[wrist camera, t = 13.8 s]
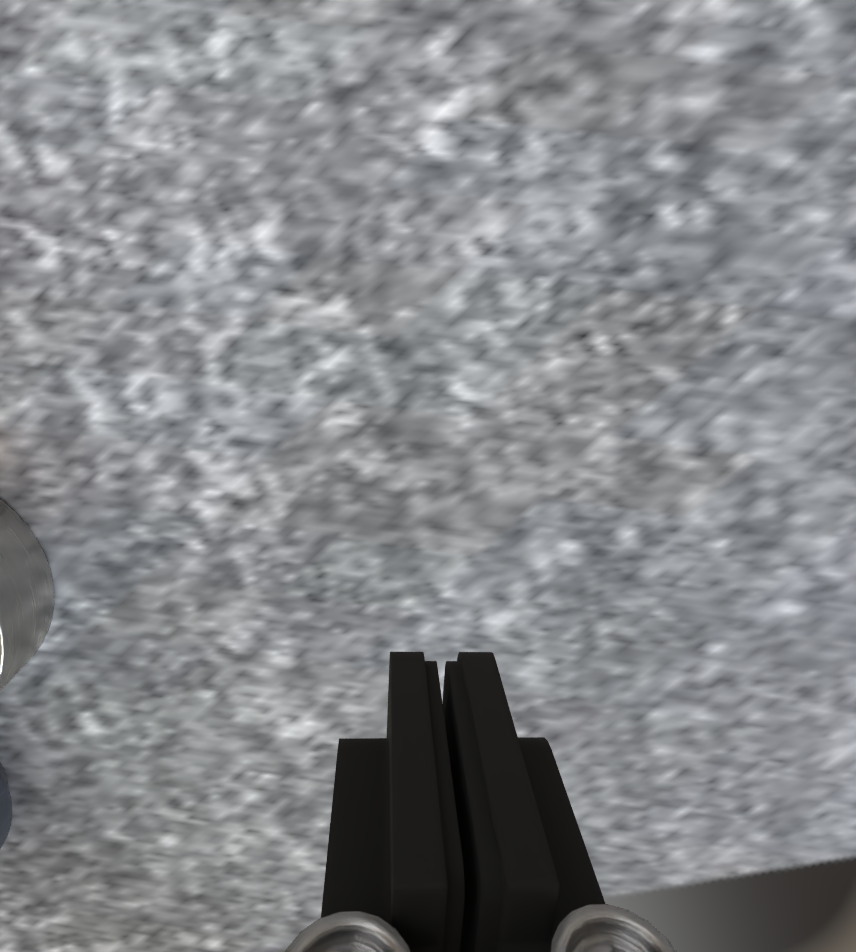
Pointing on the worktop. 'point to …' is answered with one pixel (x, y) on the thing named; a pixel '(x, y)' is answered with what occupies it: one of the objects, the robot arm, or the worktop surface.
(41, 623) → the brushed steel puck
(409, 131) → the worktop surface
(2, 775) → the beverage can
